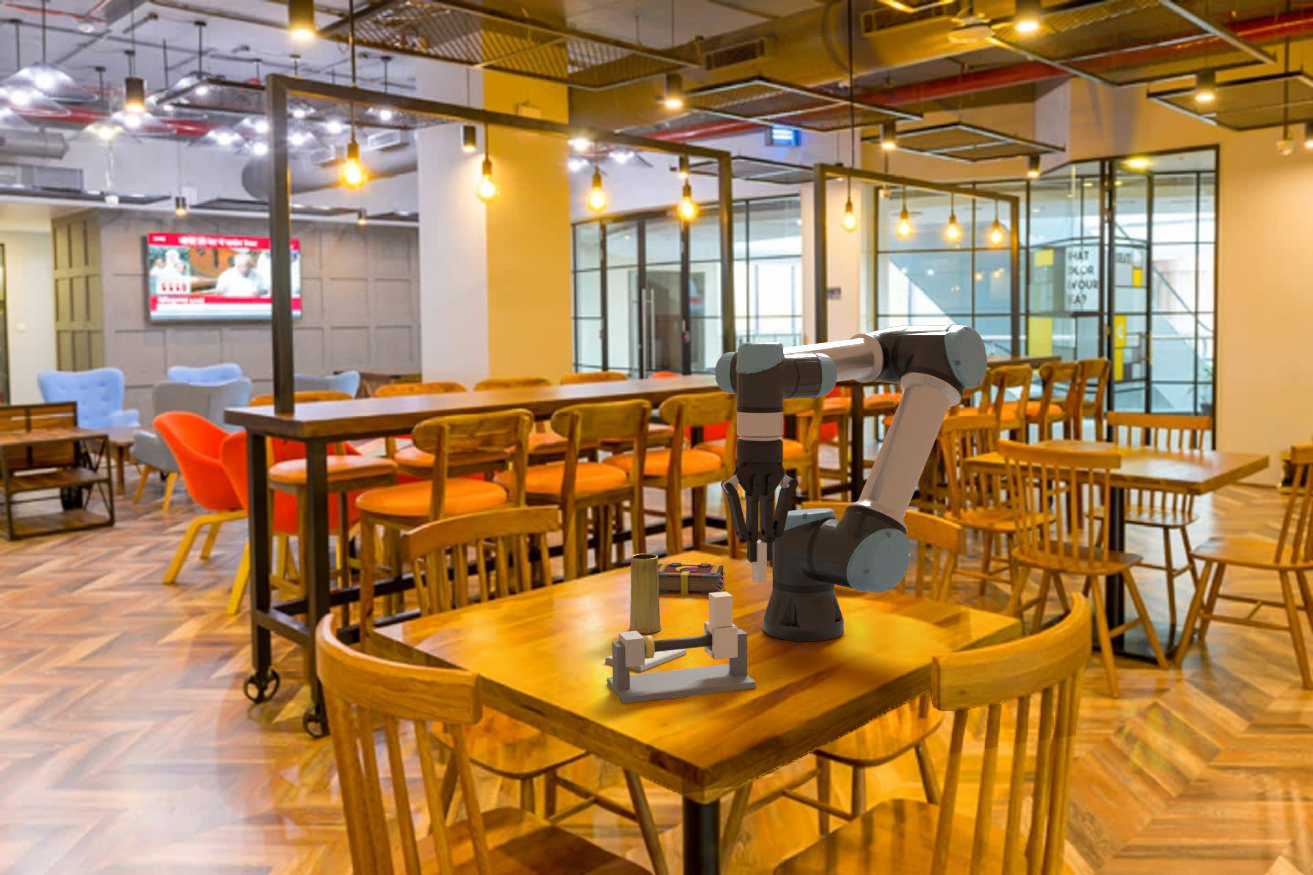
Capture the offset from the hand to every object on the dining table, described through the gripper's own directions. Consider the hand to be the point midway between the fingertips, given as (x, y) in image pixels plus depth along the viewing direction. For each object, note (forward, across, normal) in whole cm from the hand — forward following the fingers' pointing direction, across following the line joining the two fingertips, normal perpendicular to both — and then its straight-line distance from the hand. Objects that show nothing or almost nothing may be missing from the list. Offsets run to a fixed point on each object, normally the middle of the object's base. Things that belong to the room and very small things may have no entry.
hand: (759, 580), depth 180 cm
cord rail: (+16, +14, 0) cm, 21 cm away
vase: (+16, +10, -33) cm, 38 cm away
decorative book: (+16, -9, -61) cm, 64 cm away
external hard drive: (+17, +15, -16) cm, 28 cm away
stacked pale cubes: (+12, +7, 0) cm, 14 cm away
